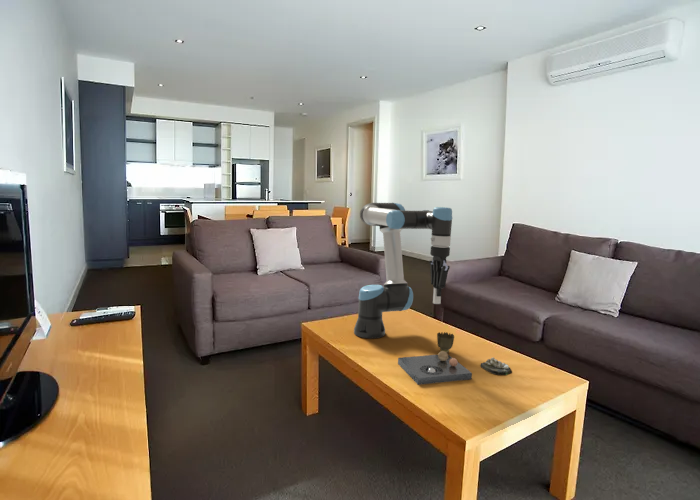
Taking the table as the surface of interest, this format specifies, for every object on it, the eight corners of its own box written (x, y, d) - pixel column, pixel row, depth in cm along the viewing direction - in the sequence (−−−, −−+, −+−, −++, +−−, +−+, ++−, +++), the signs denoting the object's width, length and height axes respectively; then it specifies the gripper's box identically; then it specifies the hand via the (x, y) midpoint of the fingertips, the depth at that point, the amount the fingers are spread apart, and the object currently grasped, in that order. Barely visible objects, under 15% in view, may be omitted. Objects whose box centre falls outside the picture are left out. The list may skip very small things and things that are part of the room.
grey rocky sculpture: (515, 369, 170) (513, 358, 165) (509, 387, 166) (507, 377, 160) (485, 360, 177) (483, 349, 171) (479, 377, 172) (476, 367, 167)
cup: (453, 356, 180) (454, 338, 179) (435, 354, 182) (437, 336, 181) (452, 349, 188) (454, 332, 187) (436, 348, 189) (437, 331, 188)
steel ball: (425, 374, 161) (426, 366, 160) (433, 373, 162) (434, 365, 161) (429, 379, 158) (429, 370, 157) (437, 378, 159) (438, 370, 158)
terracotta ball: (447, 364, 165) (447, 357, 165) (454, 364, 166) (455, 356, 165) (451, 368, 162) (452, 360, 162) (458, 367, 163) (459, 359, 162)
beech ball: (435, 359, 170) (436, 349, 170) (444, 358, 171) (445, 349, 171) (440, 363, 166) (441, 353, 166) (449, 362, 167) (450, 352, 167)
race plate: (397, 363, 171) (398, 357, 170) (446, 359, 177) (447, 353, 176) (417, 384, 153) (418, 378, 152) (471, 379, 159) (472, 373, 158)
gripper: (424, 243, 174) (421, 299, 177) (439, 248, 161) (435, 308, 165) (441, 243, 176) (437, 298, 179) (457, 248, 163) (452, 307, 167)
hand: (436, 303), depth 172 cm, fingers closed
